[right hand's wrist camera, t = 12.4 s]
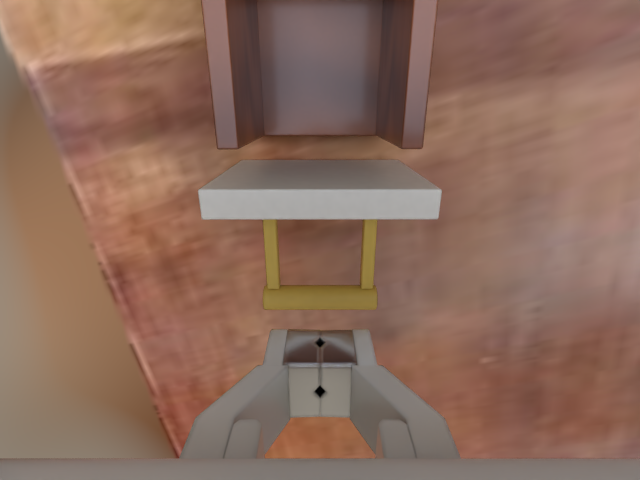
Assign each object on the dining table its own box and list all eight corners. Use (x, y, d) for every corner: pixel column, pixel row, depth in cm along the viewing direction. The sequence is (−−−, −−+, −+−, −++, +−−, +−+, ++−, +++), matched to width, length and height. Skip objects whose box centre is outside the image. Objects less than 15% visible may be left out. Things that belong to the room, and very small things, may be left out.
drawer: (390, 264, 22) (423, 338, 15) (250, 264, 22) (217, 338, 15) (430, -227, 14) (542, -565, 7) (208, -226, 14) (95, -564, 7)
